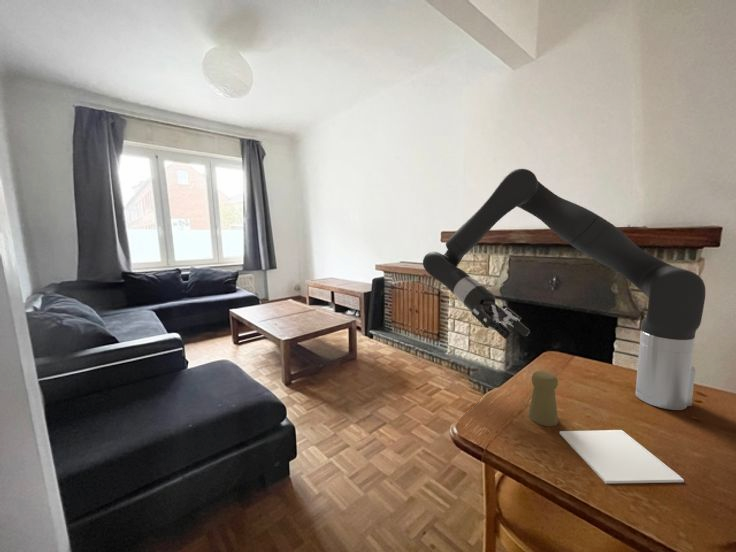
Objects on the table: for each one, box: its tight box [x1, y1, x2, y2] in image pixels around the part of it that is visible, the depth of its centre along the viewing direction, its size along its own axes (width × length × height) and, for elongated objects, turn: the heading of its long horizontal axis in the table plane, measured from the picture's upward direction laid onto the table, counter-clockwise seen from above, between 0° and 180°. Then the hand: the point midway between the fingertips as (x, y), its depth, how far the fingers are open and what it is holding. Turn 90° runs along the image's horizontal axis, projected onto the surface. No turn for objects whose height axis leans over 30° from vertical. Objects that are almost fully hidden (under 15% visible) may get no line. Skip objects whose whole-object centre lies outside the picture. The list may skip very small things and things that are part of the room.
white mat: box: [559, 429, 685, 484], centre depth 58 cm, size 13×13×1 cm
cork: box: [527, 370, 559, 427], centre depth 69 cm, size 6×6×11 cm
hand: (518, 335), depth 74 cm, fingers open, 8 cm apart
